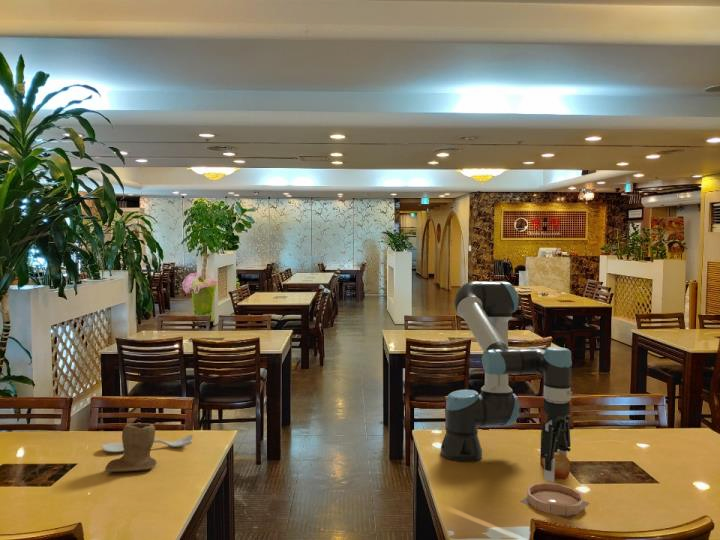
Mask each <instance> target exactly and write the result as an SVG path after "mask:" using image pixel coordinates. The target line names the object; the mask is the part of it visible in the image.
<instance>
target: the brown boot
mask: <svg viewBox="0 0 720 540" xmlns="http://www.w3.org/2000/svg"><path fill="white" fill-rule="evenodd" d="M155 435H156V427H155V426H154V424H153V423H147V422H145V423H144V422H141V423H140V422H139V423H137V422H136V423H128V424H125V425H124V427H123V430H122V434H121V441H122V442H121V443H123V448H124V451H123V455H122V456H121V457H120V458H115V459H112V460H110V461H109V462H108V463H107V464H106V466H105V470H104V472H106V473H113V472H115V473H117V472H118V473H119V472H120V473H121V472H135V471H143V470H151V469H153V468H154V467H156V465H157V460H156V458H153V457H151V450H152V448H153V444H154V443H153V442H154V440H155Z"/></svg>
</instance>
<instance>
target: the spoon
mask: <svg viewBox="0 0 720 540" xmlns="http://www.w3.org/2000/svg"><path fill="white" fill-rule="evenodd" d="M193 437H194V435H193V434H189V435H186V436H185V437H182V438H179V439H175V440H173V441H167V440H164V439H157V438H156V439H154V442H153V444H154V443H161V444H164V445H166V446H169V447H171V448H179V447H180V448H181V447H185V446H189V445H192V443H193V442H192V441H191V440H192V439H193ZM101 449H102V450H103V451H105V452H108V453H124V448H123V442H109V443H104V444H102V446H101Z"/></svg>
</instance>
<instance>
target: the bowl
mask: <svg viewBox="0 0 720 540" xmlns="http://www.w3.org/2000/svg"><path fill="white" fill-rule="evenodd" d="M526 497H527V500H528V503H529V504H531V505H532V506H531V507H533V508H534V509H536V510H537V511H541V512H544V513H547V514H550V515H555V516H558V515H563V516H568V515H575V514H577V515H579V514H580V513H582V512H583V511H584V510H585V508H584V501H585V498H584V496H583V494H582V493H581V492H580V491H578V490H577V489H574V488H573V487H571V486H566V485H563V484H561V483H555V482H546V481H545V482H543V481H542V482H537V483H536V482H535V483H532V484H531V485H529V486H527V488H526Z"/></svg>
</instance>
